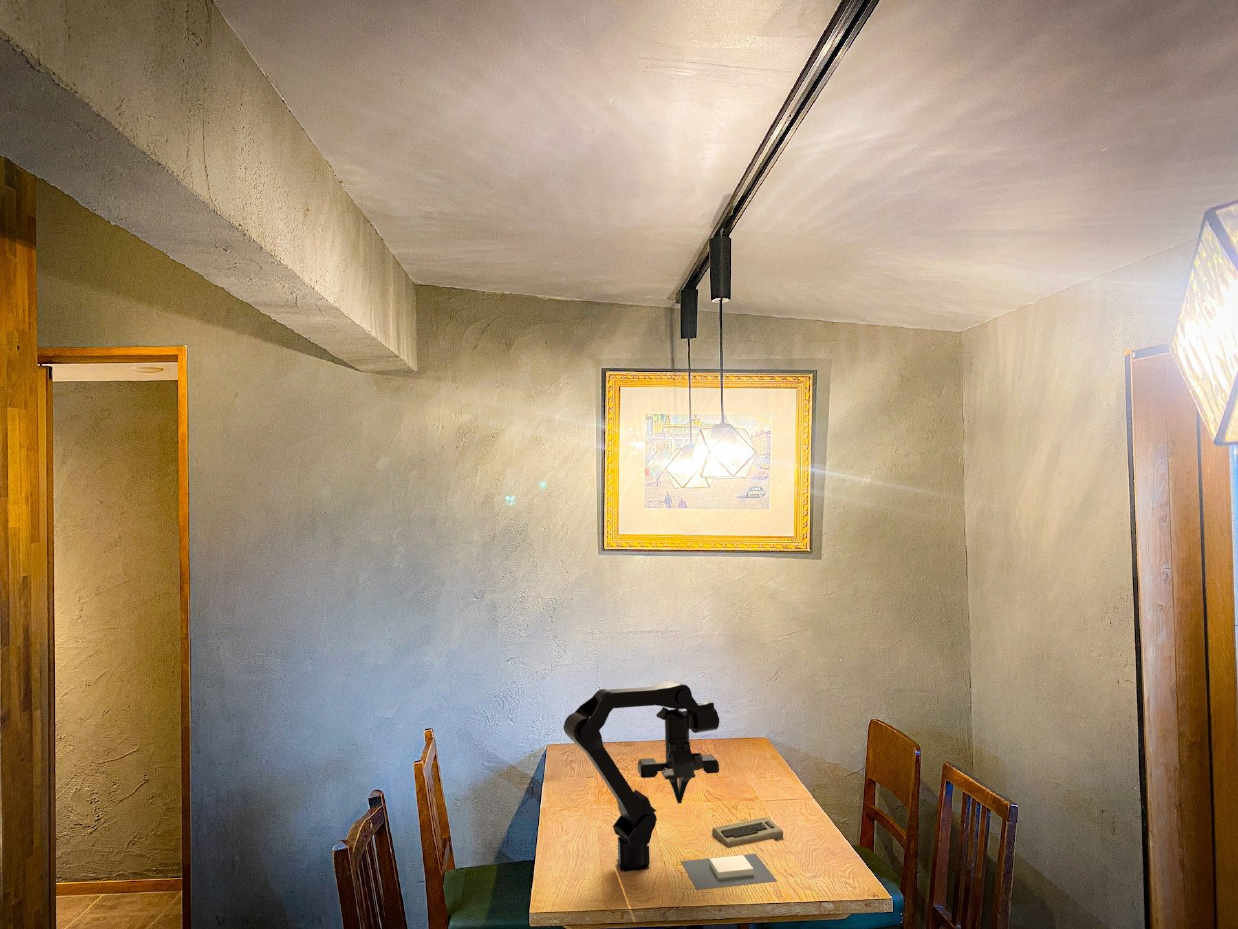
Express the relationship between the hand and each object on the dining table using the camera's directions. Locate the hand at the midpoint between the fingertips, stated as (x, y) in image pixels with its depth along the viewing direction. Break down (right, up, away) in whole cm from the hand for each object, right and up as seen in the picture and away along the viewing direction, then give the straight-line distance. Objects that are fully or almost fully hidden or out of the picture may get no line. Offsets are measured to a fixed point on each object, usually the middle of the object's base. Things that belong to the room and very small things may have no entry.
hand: (679, 803), depth 185 cm
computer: (+18, -13, +8) cm, 23 cm away
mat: (+10, -11, -11) cm, 18 cm away
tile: (+7, -10, -11) cm, 16 cm away
